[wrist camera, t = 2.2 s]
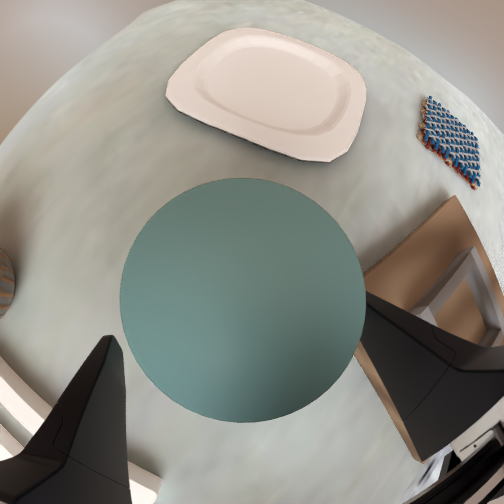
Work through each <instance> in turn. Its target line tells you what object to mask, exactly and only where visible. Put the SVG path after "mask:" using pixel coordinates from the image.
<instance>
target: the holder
mask: <svg viewBox="0 0 504 504" xmlns="http://www.w3.org/2000/svg"><path fill="white" fill-rule="evenodd" d="M0 402H1V403H2V404H3V405H4V407H5V408H6V409H7V410H8V411H9V412H10V413H11V414H12V415H13V416H14V417H15V418H16V419H17V420H18V421H19V422H20V423H21V424H22V425H23V426H24V427H25V428H26V429H27V430H28V431H29V432H30V433H32V434H33V435H34V434H35V433H36V432H37V430H38V429H39V428H40V426H41V425H42V424H43V422H44V421H45V419H46V418H47V416H48V415H49V413H50V412H51V410H52V409H53V408H52V407H51V406H50V405H49V404H47V403H46V402H45V401H44V400H43V399H42V398H41V397H40V396H39V395H37V394H36V393H35V392H34V391H33V390H32V389H31V388H30V387H29V386H28V385H27V384H26V383H25V382H24V381H23V380H22V379H21V378H20V377H19V376H18V375H17V374H16V373H15V372H14V371H13V370H12V368H11V367H10V366H9V365H8V364H7V363H6V362H5V361H4V360H3V358H2V357H1V356H0ZM23 449H24V447H23V446H22V445H21V444H20V443H19V442H18V441H17V440H16V439H15V438H14V437H13V436H12V435H11V434H10V433H9V432H8V431H7V430H6V429H5V428H4V427H3V426H2V425H1V424H0V461H2V460H5V459H8V458H11V457H14V456H16V455H17V454H19V453H20V452H21V451H22V450H23ZM128 472H129V482H130V488H129V489H130V490H131V498H132V504H153V503H154V501H155V499H156V498H157V495H158V492H159V489H160V486H161V483H162V480H161V478H160V477H158V476H156V475H154V474H152V473H150V472H148V471H146V470H144V469H142V468H140V467H138V466H137V465H135V464H133V463H131V462H129V461H128Z"/></svg>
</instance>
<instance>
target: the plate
mask: <svg viewBox="0 0 504 504" xmlns="http://www.w3.org/2000/svg"><path fill="white" fill-rule="evenodd" d="M165 96H166V98H167V99H168V100H169V102H170V103H171V104H172V105H173V106H174V107H175V108H176V110H177V111H178V112H181V113H183V114H185V115H187V116H189V117H191V118H193V119H195V120H197V121H199V122H201V123H203V124H206V125H209V126H211V127H214V128H216V129H219V130H221V131H224V132H226V133H229V134H231V135H234V136H236V137H239V138H241V139H244V140H246V141H249V142H251V143H254V144H256V145H258V146H261V147H263V148H265V149H268V150H271V151H274V152H277V153H280V154H283V155H285V156H288V157H291V158H294V159H297V160H299V161H307V162H323V163H330V162H331V161H333V160H335V159H336V158H338V157H339V156H341V155H343V154H344V153H346V152H347V151H348V149H349V148H350V146H351V144H352V142H353V140H354V138H355V136H356V134H357V132H358V129H359V125H360V122H361V119H362V115H363V111H364V107H365V103H366V85H365V83H364V81H363V79H362V77H361V75H360V73H359V72H357V71H356V70H355V69H354V68H353V67H351V66H350V65H349V64H348V63H347V62H345V61H344V60H342V59H340V58H338V57H336V56H334V55H333V54H331V53H329V52H327V51H325V50H322V49H320V48H318V47H315V46H313V45H311V44H308V43H306V42H303V41H300V40H298V39H295V38H292V37H289V36H286V35H283V34H280V33H276V32H272V31H268V30H264V29H258V28H237V29H232V30H228V31H225V32H223V33H221V34H219V35H218V36H216V37H214V38H212V39H211V40H209V41H208V42H207V43H205V44H204V45H203V46H202V47H200V48H199V49H198V50H197V51H196V52H194V53H193V54H192V55H191V56H190V57H189V58H188V59H187V60H185V61H184V62H183V63H182V64H181V65H180V66H179V68H178V69H177V70H176V71H175V72H174V74H173V75H172V76H171V77H170V79H169V80H168V84H167V89H166V95H165Z"/></svg>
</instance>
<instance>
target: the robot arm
mask: <svg viewBox="0 0 504 504" xmlns="http://www.w3.org/2000/svg"><path fill="white" fill-rule="evenodd" d="M365 292H366V310H365V320H364V325H363V330H362V334H361V337H360V342H361V344H362V346H363V347H364V349H365V351H366V353H367V355H368V356H369V358H370V360H371V362H372V364H373V366H374V367H375V369H376V371H377V373H378V375H379V377H380V379H381V381H382V382H383V384H384V386H385V388H386V390H387V392H388V394H389V396H390V398H391V400H392V402H393V404H394V406H395V408H396V410H397V412H398V414H399V416H400V418H401V420H402V422H403V424H404V426H405V428H406V430H407V432H408V434H409V436H410V438H411V441H412V443H413V445H414V447H415V449H416V451H417V453H418V456H419V458H420V460H421V461H422V462H423V461H425V460H426V459H428V458H430V457H431V456H433V455H434V454H435V453H437V452H438V451H440V450H441V449H443V448H444V447H445V446H447V445H448V444H450V445H451V447H452V448H453V450H452V451H451V452H450V453H449V454H447V455H446V456H445V457H444V461H443V465H442V468H441V472H440V475H439V479H438V481H436V482H435V483H434V484H432V485H431V486H429V487H428V488H426V489H425V490H423V491H422V492H420V493H419V494H417V495H416V496H414V497H413V498H411V499H409V500H408V501H406V502H404V503H403V504H487V503H488V502H489V501H491V500H494V499H496V498H499V497H501V496H503V495H504V345H501V346H496V347H484V346H480V345H478V344H475V343H473V342H470V341H468V340H466V339H463V338H461V337H458V336H456V335H454V334H451V333H449V332H447V331H445V330H443V329H441V328H439V327H437V326H435V325H433V324H430V323H429V322H427V321H425V320H423V319H421V318H419V317H417V316H415V315H413V314H411V313H409V312H407V311H406V310H404V309H402V308H400V307H398V306H396V305H394V304H392V303H390V302H388V301H386V300H384V299H382V298H380V297H378V296H376V295H374V294H372V293H370V292H368V291H366V290H365ZM129 488H130V482H129V472H128V460H127V443H126V388H125V376H124V361H123V352H122V349H121V347H120V345H119V343H118V342H117V340H116V338H115V336H113V335H106V336H103V337H102V338H101V339H100V341H99V342H98V343H97V345H96V346H95V348H94V349H93V350H92V352H91V353H90V354H89V356H88V357H87V359H86V360H85V361H84V363H83V364H82V366H81V367H80V369H79V370H78V371H77V373H76V374H75V376H74V377H73V379H72V380H71V382H70V383H69V385H68V386H67V388H66V389H65V391H64V392H63V394H62V395H61V397H60V398H59V400H58V401H57V403H56V404H55V406H54V407H53V409H52V410H51V412H50V413H49V415H48V416H47V418H46V419H45V421H44V422H43V424H42V425H41V426H40V428H39V429H38V430H37V432H36V433H35V434H34V436H33V437H32V438H31V440H30V441H29V442H28V444H27V445H26V446H25V448H24V449H23V450H22V451H21V452H20V453H19V454H17V455H16V456H14V457H11V458H8V459H5V460H2V461H0V504H132V498H131V490H130V489H129Z"/></svg>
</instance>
